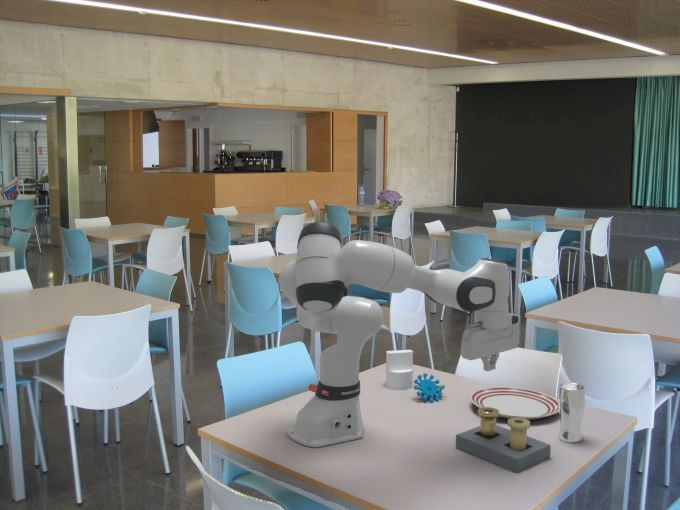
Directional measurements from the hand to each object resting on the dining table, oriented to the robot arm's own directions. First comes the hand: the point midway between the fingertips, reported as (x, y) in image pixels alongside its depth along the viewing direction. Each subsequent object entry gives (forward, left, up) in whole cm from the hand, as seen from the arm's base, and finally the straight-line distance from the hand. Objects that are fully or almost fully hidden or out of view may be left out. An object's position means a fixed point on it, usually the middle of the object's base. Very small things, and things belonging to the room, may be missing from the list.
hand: (489, 370), depth 188 cm
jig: (0, -5, -21) cm, 22 cm away
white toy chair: (+17, +52, -22) cm, 59 cm away
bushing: (0, 0, -21) cm, 21 cm away
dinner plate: (+29, +13, -22) cm, 38 cm away
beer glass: (+22, -11, -21) cm, 33 cm away
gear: (+15, +36, -22) cm, 45 cm away
